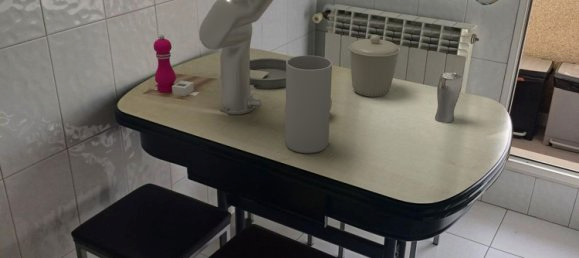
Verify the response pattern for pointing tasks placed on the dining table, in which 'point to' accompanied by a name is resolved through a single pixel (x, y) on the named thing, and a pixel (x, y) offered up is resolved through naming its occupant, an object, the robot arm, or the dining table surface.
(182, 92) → the block
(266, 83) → the cake pan
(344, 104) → the dining table surface
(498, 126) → the dining table surface
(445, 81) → the beer glass
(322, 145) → the cylinder vase
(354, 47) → the canister
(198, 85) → the brown flat board
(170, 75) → the pepper mill
